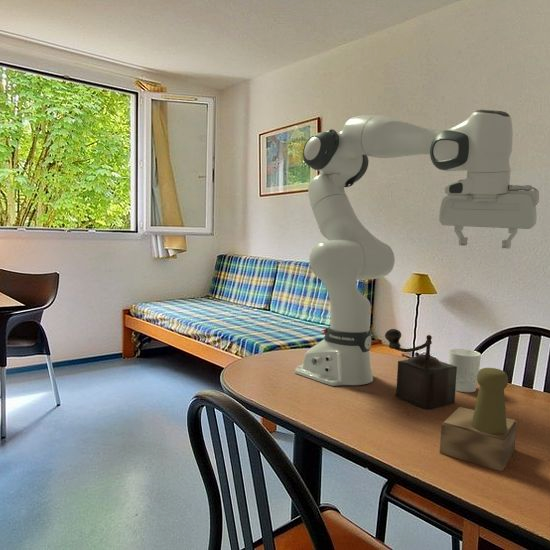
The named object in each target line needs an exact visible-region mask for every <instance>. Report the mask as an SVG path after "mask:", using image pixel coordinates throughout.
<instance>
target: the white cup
mask: <svg viewBox="0 0 550 550" xmlns="http://www.w3.org/2000/svg"><path fill="white" fill-rule="evenodd" d="M448 353H449V355H448V356H449V357H448V364H450V365H453V366H456V367H457V373H456V388H455V392H459V393H460V392H461V393H474V392H476V390H477V387H478V386H477V385H478V382H477V374H478V372H479V370H480V366H481V359H482V354H481V353H480V352H479V351H476V350H471V349H467V348H452V349H449V351H448Z"/></svg>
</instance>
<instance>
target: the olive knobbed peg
mask: <svg viewBox="0 0 550 550" xmlns="http://www.w3.org/2000/svg"><path fill="white" fill-rule="evenodd" d="M477 385H479V388H478V393H477V397H476V400H475V402H476V403H475V406H474V409H473V410H474V415H473V420H472V427H473V428H475V429H476V430H478V431H480V432H484V433H487V434H495V435H499V434H505V433H506V432H507V423H506V418H507V413H506V412H507V410H506V409H507V408H506V399H505V398H506V397H505V389H506V388H507V387H508V385H509V376H508V374H507V373H506V371H504V370H502V369H499V368H497V367H496V368H495V367H483V368H481V369H480V368H479V372H478V374H477Z"/></svg>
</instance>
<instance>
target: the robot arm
mask: <svg viewBox="0 0 550 550" xmlns="http://www.w3.org/2000/svg"><path fill="white" fill-rule="evenodd" d="M513 133H514V132H513V122H512V117H511V115H510V114H509V113H508V112H506V111H502V110H489V109H478V110H476V111H473V112H472V113H471V114H470V116H469V117H467V118H466V119H465V120H463V121H462V122H460V123H459V124H457V125H454V126H453V127H450V128H448V129H445V130H436V129H431V128H430V129H429V128H426V127H422V126H419V125H416V124H414V123H413V124H412V123H409V122H407V121H406V122H405V121H403V120H400V119H397V118H393V117H390V116H385V115H379V114H362V115H356V116H353V117H350V118H349V119H348V120H347V121H345V123H344V125H343V127H342V129H341V131H339V132H337V131H336V130H335V129H333V128H331V129H328V130H327V131H323V132H321V131H320V132H317V133H315V134H313V135H312V136H310V137H309V138H308V139H307V140H306V142H305V143H304V146H303V149H302V158H303V161H304V162H305V164H306V165H307V166H308V167H310V168H311V169H312V170H315V171H318V172H319V173H318V175H316V176H315V177H313V178H312V179H311V181H310V182H309V183H308V187H307V188H308V190H307V191H308V198H309V203H310V207H311V210H312V212H313V215H314V218H315V220H316V223H317V225H318V228H319V230H320V234H322V236H323V237H324V238H325V239H327V240H326V241H321V242H317V244H315V245H314V246H313V248H312V249H311V252H310V253H309V261H308V262H309V266H310V269H311V271H312V273H313V274H314V275H315V276H316V278H318V279H319V280H320V281H321V282H322V283H323V285H324V287H325V289H326V290H327V294H328V298H329V306H330V308H329V309H330V314H329V315H330V317H329V318H330V320H329V321H330V322H329V326H328V327H326V328H325V329H323V330H321V335H324V338H323V339H321V340H320V341H319V342H317V343H316V344H315V345H313V346H312V347H310V348H308V350H307V351H306V352H305V354H304V357H303V362H302V364H300V365H297V366H296V367H295V369H294V374H297V375H298V376H299V375H300V376H302V377H306V378H309V379H310V380H313V381H318V382H319V383H323V384H326V385H328V386H333V387H335V386H361V385H363V386H364V385H366V384H370V383H372V382H373V381H374V375H373V373H372V367H371V356H370V350H371V345H372V330H371V328H370V327H371V311H372V310H371V309H372V306H371V305H372V304H371V302H370V300H369V299H368V298H367V296H365V295H364V294H362V293H360V292H359V289H358V287H357V286H358V285H357V280H360V281H361V280H375V279H379V278H383V277H386V276H389V274H390V273H391V272H392V271H393V269H394V266H395V260H396V259H395V253H394V251H393V248H391V246H390V245H389V244H388V243H385V242H383V241H381V240H380V239H378V238H377V237H376V236H374V235H373V234H372V232H370V231H369V230H368V229H367V228H366V227H365V226H364V225H363V224H362V222H361V221H360V220H359V219H358V217H357V214H356V212H355V211H354V208H353V207H352V204H351V202H350V199H349V198H348V195H347V193H346V190H345V188H350V187H351V186H353V185H354V183H357V182H358V181H360V180H361V179H362V177H363V176H364V175H365V174H366V172H367V170H368V167H369V161H370V160H369V157H372V158H379V159H390V158H392V159H393V158H400V157H401V158H402V157H408V156H409V157H410V156H418V155H429V158H430V160H431V163H432V164H433V166H434V167H435V168H437V169H438V170H441V171H445V172H457V171H459V172H461V171H466V178H465V179H459V180H458V181H455V182H451V183H448V184H447V185H445V186H444V194H446V195H444V196H443V198H442V199H441V203H440V208H439V214H438V215H439V216H438V217H439V223H440V224H441V226H448V227H449V226H451V227H454V232H455V234H456V236H457V238H458V246H467V245H468V241H469V240H468V238H469V237H466V236H464V234H463V230H464V227H469V228H471V227H474V228H475V227H476V228H494V229H495V228H497V229H508V234H510V235H508V238H506V239H503V240H502V241H501V243H502V245H501V249H507V250H508V249H511V248H512V247H511V246H512V240H513V239H514V238H515V237H516V235H518V229H519V230H529V229H532V228H534V227H535V226H536V225H537V207H536V206H537V205H538V203H539V200H540V191H539V190H538V189H537V188H536V187H535V186H532V185H530V184H526V185H519V184H518V185H517V184H514V185H513V184H511V166H510V158H511V154H512V151H513Z"/></svg>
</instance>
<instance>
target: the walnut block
mask: <svg viewBox="0 0 550 550" xmlns="http://www.w3.org/2000/svg"><path fill="white" fill-rule="evenodd" d="M474 410H475V409H471V408H467V407H462V406H459V407H458V408H457V409H456V410H454V411H453V413H451V414H450V416H448V417H447V418H446V419H445V420H444V421H443V422H442V423H441V427H440V438H439V439H440V440H439V441H440V443H439V453H440V454H443V455H446V456H449V457H453V458H455V459H456V458H457V459H460V460H463V461H467V462H470V463H472V464H476V465H479V466H481V467H482V466H483V467H486V468H489V469H493V470H496V471H499V472H504V469H505V468H506V466H507V465H508V463H509V460H510V459H511V457H512V456H513V454H514V452H515V450H516V440H517V427H518V426H517V425H518V422H517V421H516V420H515V419H513V418H509V417H506V423H507V432H506V433H505V434H499V435H495V434H487V433H484V432H480V431H478V430H476V429H475V428H473V427H472V420H473V415H474Z"/></svg>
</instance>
